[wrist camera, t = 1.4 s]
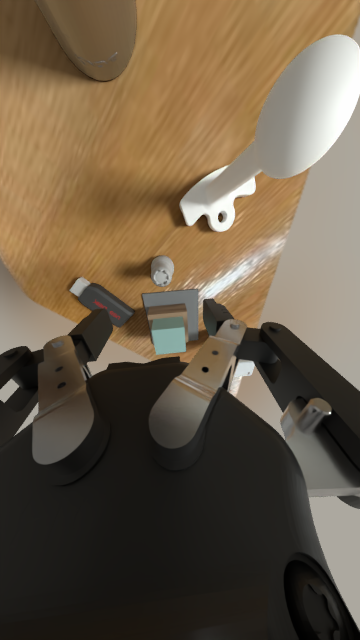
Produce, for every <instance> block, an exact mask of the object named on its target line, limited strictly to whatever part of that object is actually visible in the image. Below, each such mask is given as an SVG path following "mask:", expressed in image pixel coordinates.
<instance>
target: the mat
mask: <svg viewBox="0 0 360 640" xmlns="http://www.w3.org/2000/svg"><path fill="white" fill-rule="evenodd" d="M142 296H143V300H144V305H145V310H146V314H147V315H148V310H149V307H150V306H161V305H172V304H182V303H185V305H186V309H187V320H188V341H192V340H198V289H188V290H177V291H166V292H155V293H144V294H142ZM147 319H148V316H147ZM148 323H149V321H148ZM149 328H150V326H149ZM150 333H151V330H150ZM151 337H152V335H151ZM152 342H153V340H152Z"/></svg>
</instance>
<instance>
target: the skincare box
mask: <svg viewBox="0 0 360 640" xmlns="http://www.w3.org/2000/svg"><path fill="white" fill-rule="evenodd" d="M254 366H255V364H254V362H253V361H249V360H242V359H240V361H239V364H238V366H237V369H236V372H235V374H234V377H240V376H250V375H252V372H253V369H254Z"/></svg>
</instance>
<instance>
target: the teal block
mask: <svg viewBox="0 0 360 640" xmlns="http://www.w3.org/2000/svg"><path fill="white" fill-rule="evenodd" d="M151 331H152V336H153V341H154V346H155V350H156V355H158V354H168V353H177V352H186V344H185V328H184V322H183V317H182V316H181V317H170V318H160V319H153V323H152V329H151Z"/></svg>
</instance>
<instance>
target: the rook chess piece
mask: <svg viewBox="0 0 360 640" xmlns="http://www.w3.org/2000/svg"><path fill="white" fill-rule="evenodd" d="M151 271H152V272H151V279H152V281H153V283H154V284H156V285H157V286H160V287H164V286H167V285H168V284H169V283H170V282H171V279H172V274H173V272H174V264H173V262H172V260H171V259H170V258H169V257H166V256H158V257H156V258H155V259H154V260H153V261H152V264H151Z"/></svg>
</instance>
